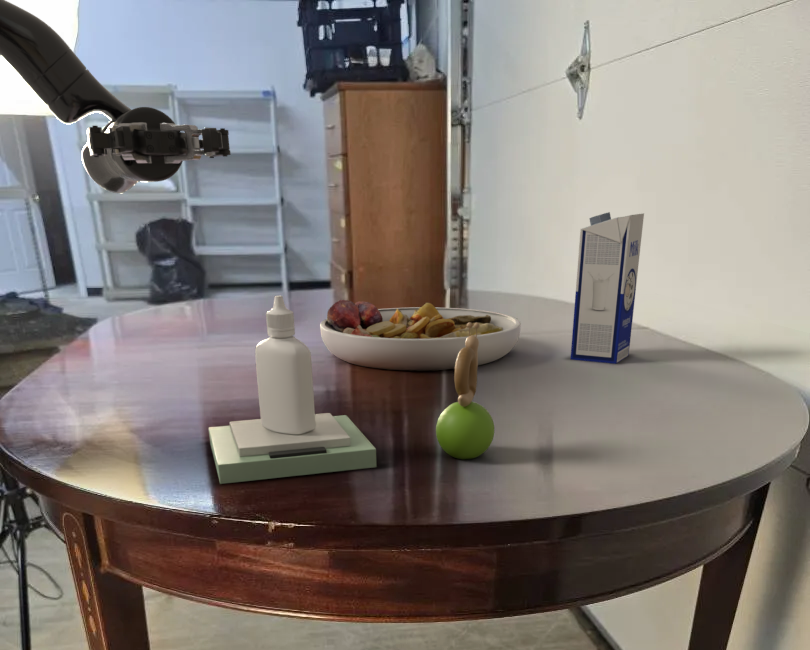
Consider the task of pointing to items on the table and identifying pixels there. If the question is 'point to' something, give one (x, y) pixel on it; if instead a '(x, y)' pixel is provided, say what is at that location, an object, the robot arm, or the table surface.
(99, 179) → the robot arm
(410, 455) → the table surface
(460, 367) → the snail figurine
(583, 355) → the milk carton
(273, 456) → the scale
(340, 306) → the bowl
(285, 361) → the eye dropper bottle
